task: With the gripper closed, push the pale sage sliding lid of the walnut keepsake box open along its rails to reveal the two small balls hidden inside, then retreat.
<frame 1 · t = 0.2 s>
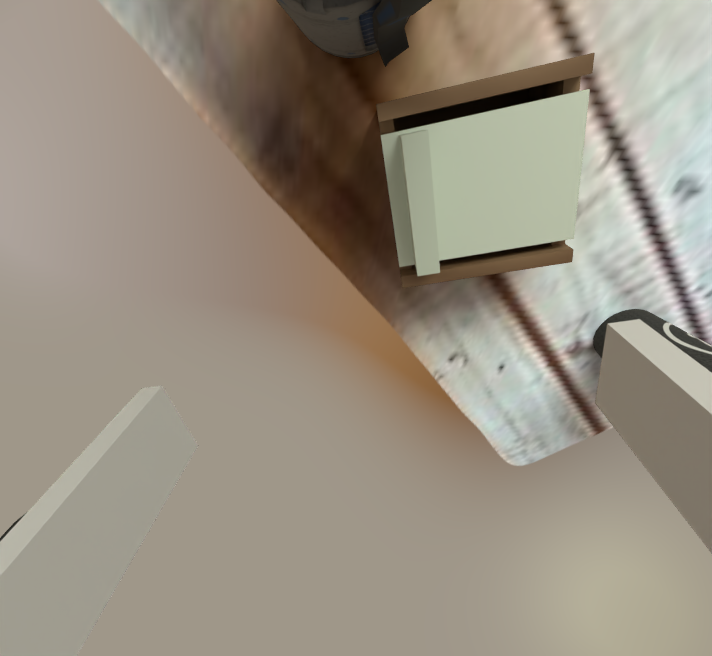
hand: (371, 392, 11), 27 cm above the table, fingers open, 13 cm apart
lid: (485, 191, 24), point 9 cm above the table, slide at 0.0 cm
coffee cup: (623, 334, 39), on the table
box: (459, 175, 32), on the table
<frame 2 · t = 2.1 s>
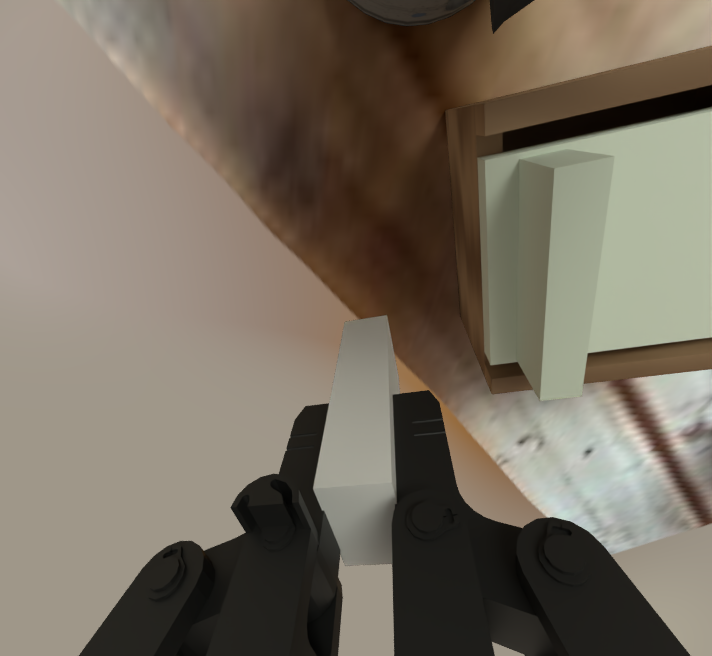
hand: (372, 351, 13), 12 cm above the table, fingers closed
lid: (671, 258, 13), point 9 cm above the table, slide at 0.0 cm
box: (563, 207, 21), on the table
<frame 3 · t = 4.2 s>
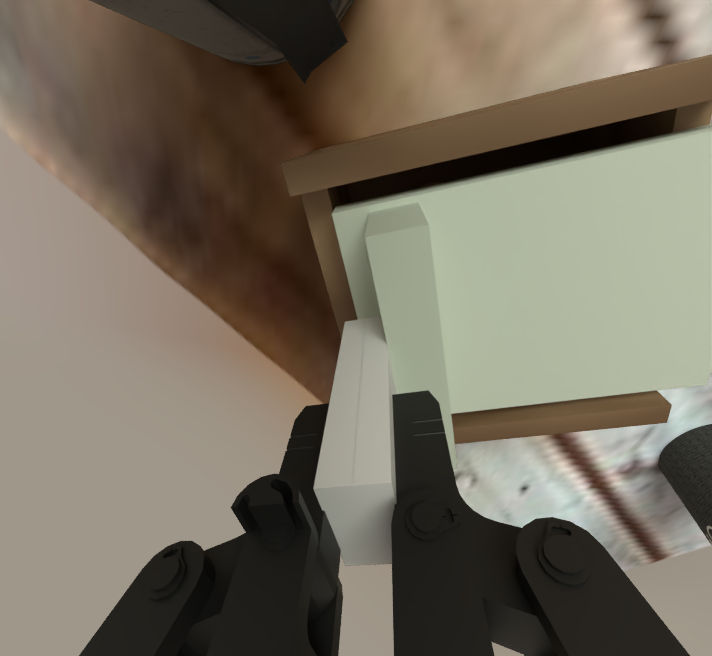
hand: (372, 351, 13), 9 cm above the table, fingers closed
lid: (546, 318, 12), point 9 cm above the table, slide at 1.2 cm, touching gripper
coffee cup: (704, 451, 27), on the table
box: (459, 245, 20), on the table
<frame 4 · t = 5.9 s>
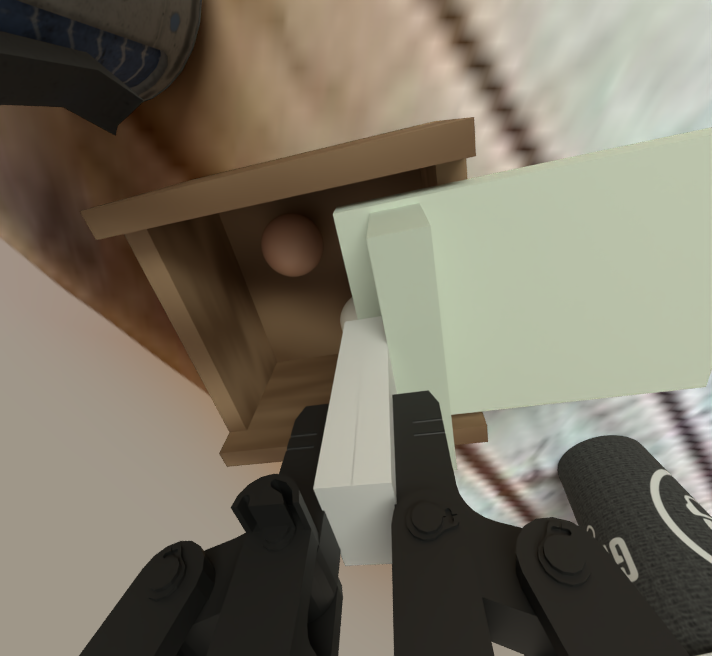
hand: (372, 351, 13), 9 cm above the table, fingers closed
ball terracotta: (292, 245, 18), point 2 cm above the table, touching box
lid: (547, 320, 12), point 9 cm above the table, slide at 8.4 cm, touching gripper
coffee cup: (599, 462, 28), on the table
ball cream: (368, 320, 20), point 2 cm above the table, touching box
box: (337, 269, 21), on the table
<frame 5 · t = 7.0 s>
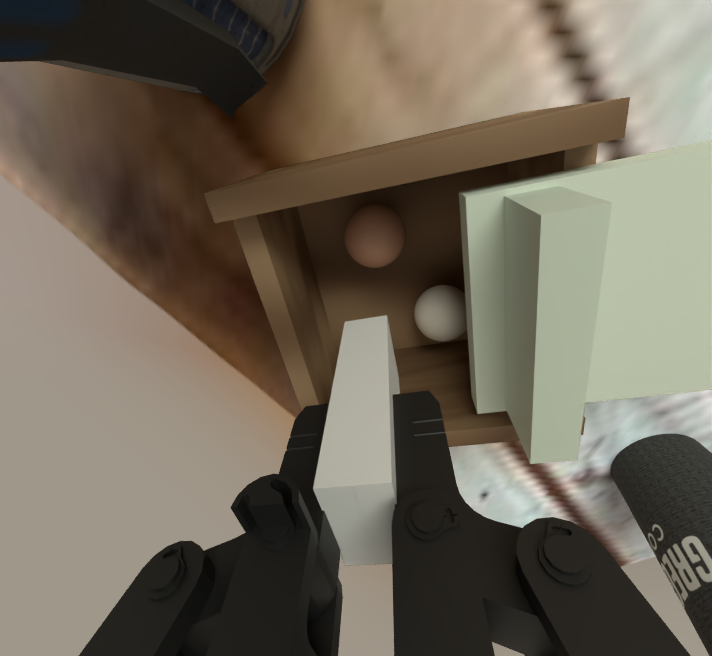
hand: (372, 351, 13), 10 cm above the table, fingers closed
ball terracotta: (374, 236, 18), point 2 cm above the table, touching box
lid: (678, 307, 12), point 9 cm above the table, slide at 8.5 cm
coffee cup: (653, 461, 28), on the table
ball cream: (442, 313, 20), point 2 cm above the table, touching box
box: (407, 262, 21), on the table
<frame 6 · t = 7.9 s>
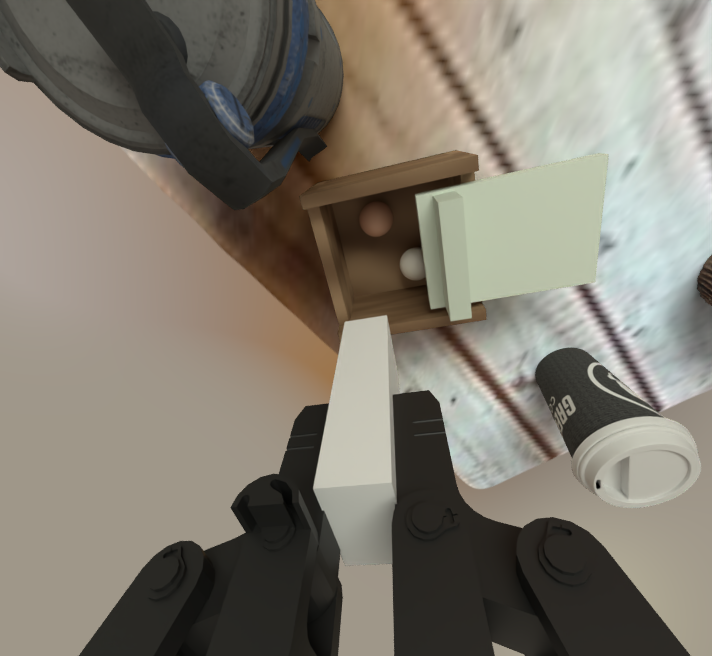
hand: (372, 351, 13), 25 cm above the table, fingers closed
ball terracotta: (376, 219, 33), point 2 cm above the table, touching box
lid: (512, 244, 26), point 9 cm above the table, slide at 8.5 cm
beverage bottle: (292, 87, 30), on the table
coffee cup: (563, 369, 42), on the table
ball cream: (416, 264, 34), point 2 cm above the table, touching box
box: (395, 235, 36), on the table
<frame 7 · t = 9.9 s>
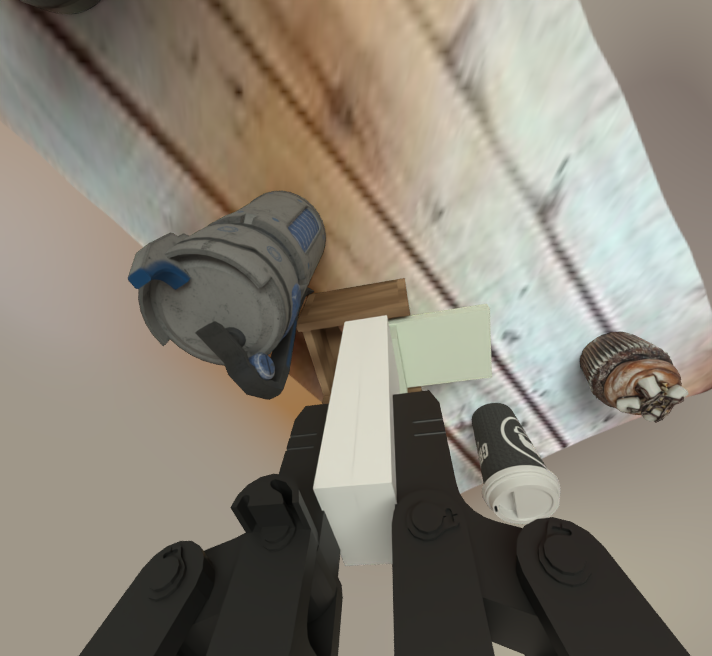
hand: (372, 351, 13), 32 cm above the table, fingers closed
lid: (434, 357, 40), point 9 cm above the table, slide at 8.5 cm
beverage bottle: (291, 237, 44), on the table
coffee cup: (492, 417, 57), on the table
box: (365, 328, 50), on the table
cupcake: (608, 354, 50), on the table
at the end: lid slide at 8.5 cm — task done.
